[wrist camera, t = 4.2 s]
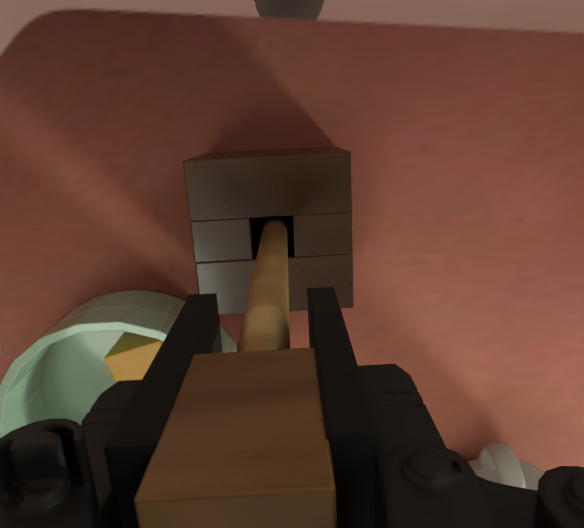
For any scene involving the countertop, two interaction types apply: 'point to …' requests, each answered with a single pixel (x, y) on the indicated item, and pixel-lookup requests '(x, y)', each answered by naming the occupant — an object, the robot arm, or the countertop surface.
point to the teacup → (505, 467)
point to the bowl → (82, 356)
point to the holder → (268, 203)
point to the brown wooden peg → (246, 425)
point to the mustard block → (131, 356)
